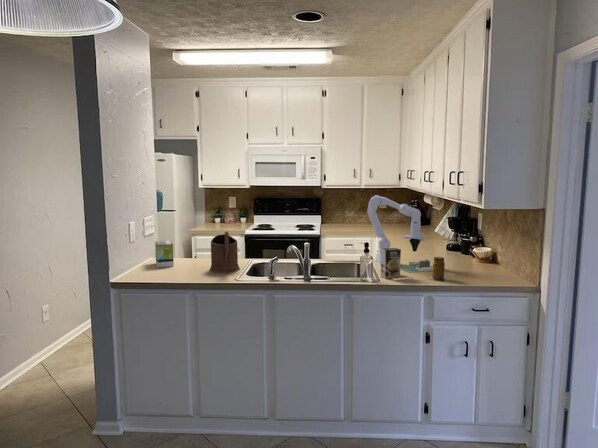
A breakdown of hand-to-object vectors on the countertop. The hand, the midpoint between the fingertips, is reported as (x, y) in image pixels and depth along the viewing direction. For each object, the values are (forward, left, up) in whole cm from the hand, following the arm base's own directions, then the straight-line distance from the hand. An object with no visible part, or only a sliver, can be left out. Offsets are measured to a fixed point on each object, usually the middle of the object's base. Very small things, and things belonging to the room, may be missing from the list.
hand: (414, 251), depth 267 cm
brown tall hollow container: (-28, -111, -10) cm, 115 cm away
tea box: (-56, -146, -10) cm, 157 cm away
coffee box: (+17, -26, -10) cm, 33 cm away
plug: (+11, 0, -9) cm, 14 cm away
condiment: (+30, -3, -10) cm, 32 cm away
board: (+7, -4, -10) cm, 13 cm away
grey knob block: (+2, +1, -10) cm, 10 cm away
